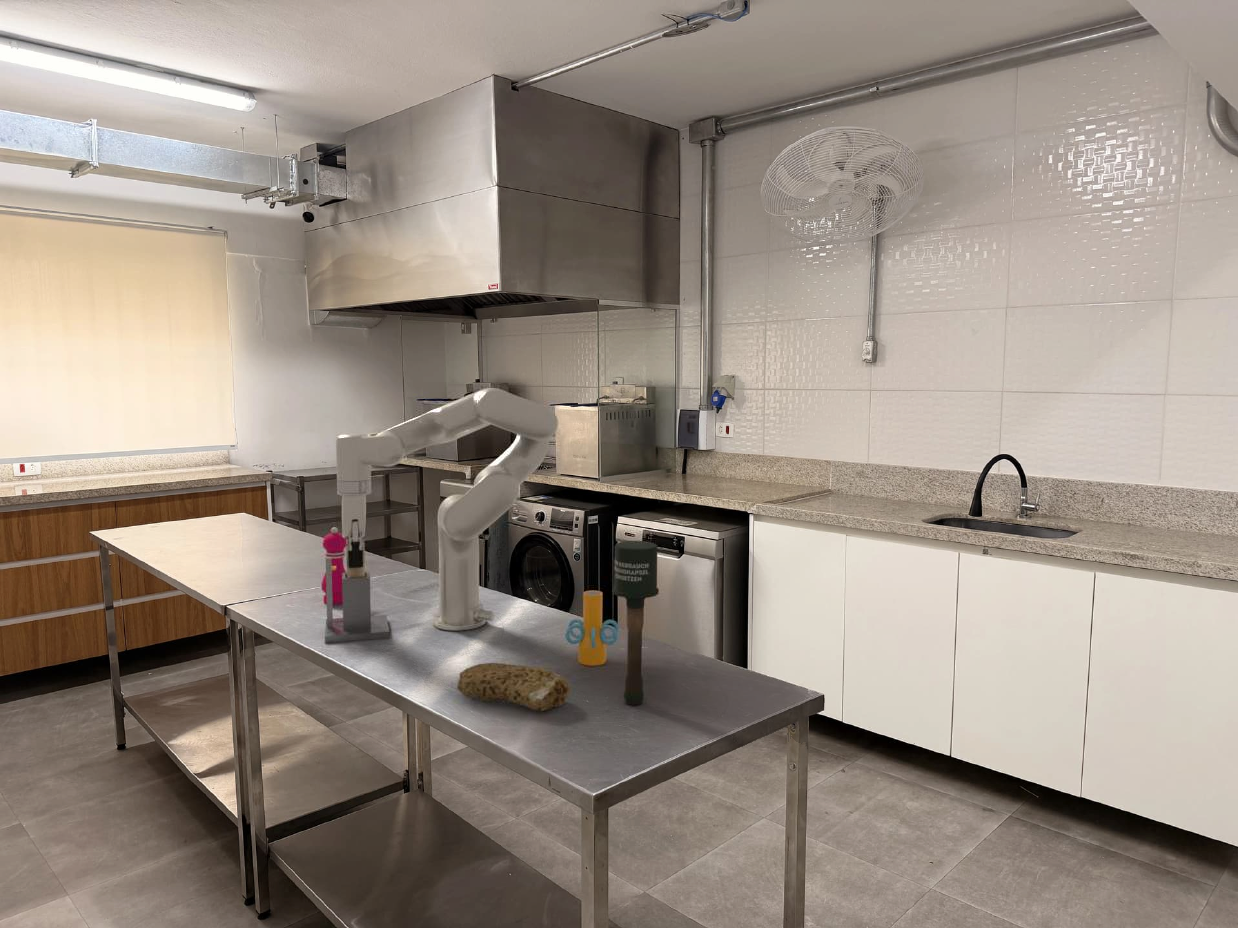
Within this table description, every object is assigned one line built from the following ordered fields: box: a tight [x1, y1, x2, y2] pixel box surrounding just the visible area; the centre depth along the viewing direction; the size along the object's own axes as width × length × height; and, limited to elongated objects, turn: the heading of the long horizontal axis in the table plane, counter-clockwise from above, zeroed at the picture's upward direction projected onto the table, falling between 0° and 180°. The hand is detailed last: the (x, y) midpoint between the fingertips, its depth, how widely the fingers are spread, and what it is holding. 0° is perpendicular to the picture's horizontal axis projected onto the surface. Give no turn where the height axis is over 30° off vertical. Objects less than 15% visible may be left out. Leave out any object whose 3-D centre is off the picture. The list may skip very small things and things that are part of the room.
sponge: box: [456, 662, 570, 712], centre depth 154 cm, size 13×8×20 cm
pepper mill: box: [320, 526, 347, 605], centre depth 219 cm, size 7×7×20 cm
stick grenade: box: [611, 540, 660, 706], centre depth 153 cm, size 8×9×30 cm
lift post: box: [345, 538, 366, 578], centre depth 194 cm, size 4×4×20 cm
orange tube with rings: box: [565, 590, 619, 667], centre depth 175 cm, size 12×10×15 cm
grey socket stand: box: [324, 557, 390, 644], centre depth 194 cm, size 14×14×18 cm
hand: (355, 564), depth 193 cm, fingers closed on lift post, 4 cm apart
